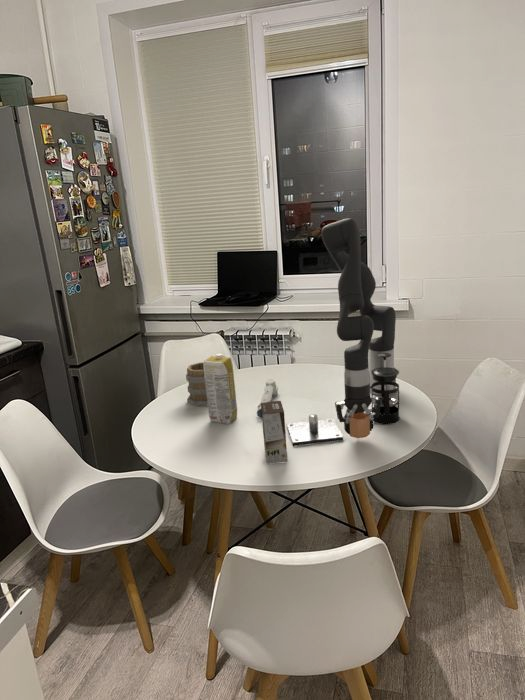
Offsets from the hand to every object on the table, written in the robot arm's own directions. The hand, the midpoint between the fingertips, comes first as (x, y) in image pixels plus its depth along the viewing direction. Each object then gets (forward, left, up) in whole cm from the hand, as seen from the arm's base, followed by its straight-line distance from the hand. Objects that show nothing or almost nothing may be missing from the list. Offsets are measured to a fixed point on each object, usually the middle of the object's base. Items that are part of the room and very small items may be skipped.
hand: (358, 431), depth 161 cm
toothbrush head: (+25, -38, -4) cm, 45 cm away
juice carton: (+42, -28, -4) cm, 50 cm away
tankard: (+46, -51, -4) cm, 68 cm away
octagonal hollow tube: (0, 0, -1) cm, 1 cm away
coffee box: (+27, +3, -4) cm, 27 cm away
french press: (-12, -14, -4) cm, 19 cm away
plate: (+13, -9, -3) cm, 16 cm away
